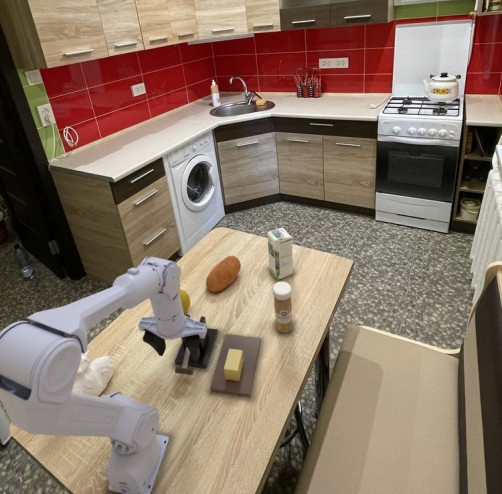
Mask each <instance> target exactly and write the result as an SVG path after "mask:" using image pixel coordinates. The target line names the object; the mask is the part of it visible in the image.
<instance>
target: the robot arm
mask: <svg viewBox="0 0 502 494" xmlns="http://www.w3.org/2000/svg"><path fill="white" fill-rule="evenodd" d="M181 276H182V266H179V265H178V263H177V262H176V261H173V260H169V259H164V258H160V257H156V256H145V257H144V258H143V259H142V261H141V262H140V263H139V265H137V266H136V267H131V268H128V269H127V272H126V273H123V274H121V275H119V276H117V277H116V278H115V279H114V281H113V283H112V285H111V287H109V288H105V289H104V290H102V291H101V290H100V291H99V292H96V293H94V294H90V295H89V296H86V297H83V298H81V299H78V300H76V301H73V302H71V303H68V304H66V305H63V306H60V307H59V306H58V307H55V308H50V309H45V310H41V311H37V312H34V313H32V314H30V315H29V316H27V317H26V319H28V320H30V321H28V320H19V321H15V322H12V323H11V324H9V325H8V326H5V328H3V329H2V330H1V331H0V402H1V404H2V406H3V408H4V411H5V412H6V414H7V416H8V419H9V420H10V423H11V424H12V425H13V426H15V427H17V428H18V429H20V430H22V431H24V432H26V433H28V434H30V435H39V436H40V435H41V436H42V435H43V436H69V437H94V438H95V437H97V438H98V437H99V438H109V441H110V444H111V449H110V456H109V459H108V462H107V465H106V467H105V469H104V475H105V477H106V479H107V481H108V488H107V489H108V490H109V491H111V492H115V493H119V494H151V493H152V491H153V487H154V485H155V482H156V478H157V476H158V474H159V470H160V468H161V464H162V462H163V458H164V455H165V453H166V450H167V447H168V444H169V441H170V438H169V436H167V435H161V434H157V430H158V427H159V425H160V424H159V423H160V412H159V411H160V410H159V409H158V408H157V407H156V406H151V405H148V404H147V403H143V402H142V401H139V400H137V399H135V398H132V397H130V396H128V395H125V394H123V393H122V392H121V391H117V390H115V391H112V392H110V393H109V394H106V395H105V394H101V396H98V397H97V396H92V395H86V394H81V393H76V392H72V389H73V385H74V382H75V379H76V375H77V372H78V368H79V365H80V360H81V354H82V353H84V354H85V353H86V351H87V350H88V331H89V330H90V329H92V328H93V327H94V326H96V325H97V324H99V323H100V322H101V321H103V320H105V319H107V317H108V316H110V315H112V314H113V313H114V312H116V311H117V310H119V309H120V308H122V309H123V310H131V309H134V308H135V307H137V306H139V305H140V304H143V302H145V301H147V300H148V299H149V301H150V305H151V308H152V313H153V316H142V317H141V318H140V320H139V322H138V324H137V326H138V330H139V331H140V332H144V334H143V336H142V342H144V343H145V344H147V345H149V346H150V347H151V348H152V349H153V350H154V351H155V352H156V353H157V354H158V356H159V357H163V356H164V354H165V352H166V349H167V342H166V340H175V339H179V338H180V339H181V337H185V336H189V337H188V339H187V342H186V344H185V346H186V347H187V348H188V350H189V351H190V355H191V359H192V360H196V358H197V355H198V348H199V341H200V338H205V336H206V333H207V328H208V326H206V325H207V323H206V324H203V323H200V322H199V321H198V320H195V319H193V318H191V317H190V318H189V317H187V316H186V314H185V313H184V312H183V307H182V303H181V298H180V294H179V290H181V278H182V277H181ZM31 321H32V322H31ZM197 321H198V322H197Z"/></svg>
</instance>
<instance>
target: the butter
mask: <svg viewBox="0 0 502 494" xmlns="http://www.w3.org/2000/svg"><path fill="white" fill-rule="evenodd" d="M243 362H244V358H243V351H242V350H236V349H229V351H228V355H227V359H226V363H225V366H224V373H225V379H227V380H234V381H239V380H240V375H241V371H242V366H243Z"/></svg>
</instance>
